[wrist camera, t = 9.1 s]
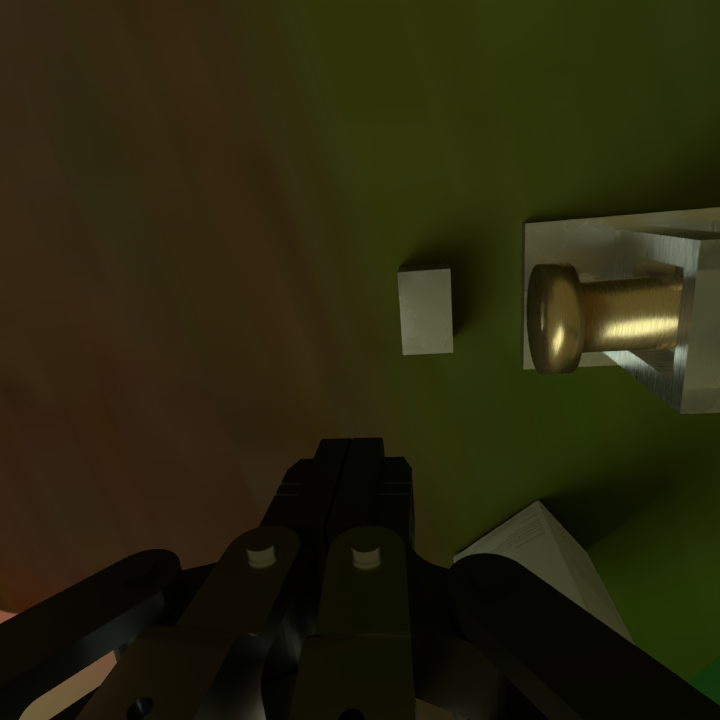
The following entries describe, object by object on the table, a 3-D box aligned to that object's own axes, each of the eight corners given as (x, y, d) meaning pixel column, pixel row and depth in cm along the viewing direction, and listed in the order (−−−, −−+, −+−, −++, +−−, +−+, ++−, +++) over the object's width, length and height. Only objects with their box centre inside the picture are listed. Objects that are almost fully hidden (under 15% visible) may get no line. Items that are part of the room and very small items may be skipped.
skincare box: (498, 602, 38) (547, 838, 24) (448, 551, 37) (467, 766, 23) (592, 547, 35) (706, 774, 21) (540, 491, 35) (624, 690, 20)
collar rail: (820, 197, 27) (1112, 195, 16) (790, 360, 30) (1019, 457, 18) (397, 233, 30) (385, 253, 19) (406, 377, 33) (400, 470, 22)
